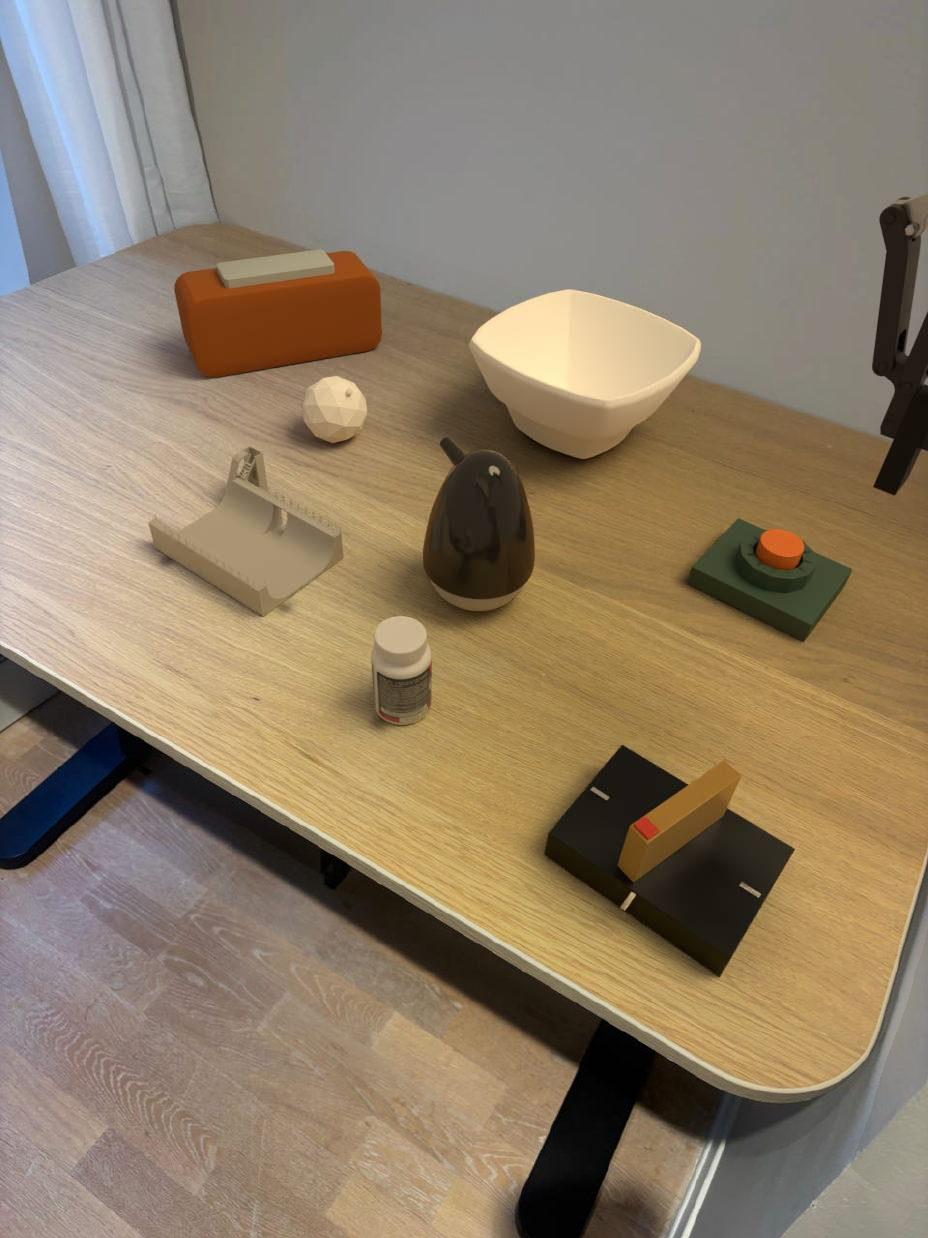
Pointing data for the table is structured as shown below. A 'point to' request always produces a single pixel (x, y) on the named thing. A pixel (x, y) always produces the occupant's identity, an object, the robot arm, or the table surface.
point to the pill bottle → (401, 670)
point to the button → (779, 549)
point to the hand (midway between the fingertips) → (890, 482)
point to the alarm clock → (278, 311)
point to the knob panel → (669, 862)
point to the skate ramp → (252, 541)
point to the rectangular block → (677, 820)
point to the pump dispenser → (479, 531)
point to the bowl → (581, 367)
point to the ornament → (334, 409)
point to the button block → (769, 581)
